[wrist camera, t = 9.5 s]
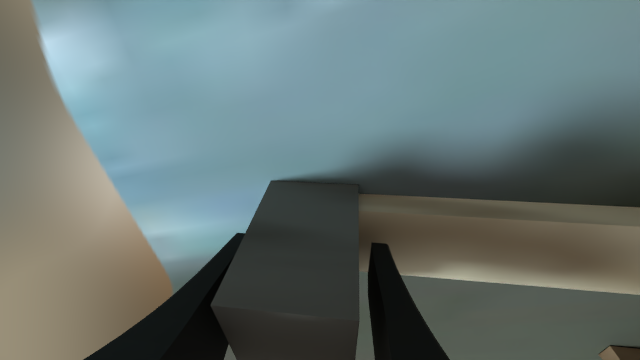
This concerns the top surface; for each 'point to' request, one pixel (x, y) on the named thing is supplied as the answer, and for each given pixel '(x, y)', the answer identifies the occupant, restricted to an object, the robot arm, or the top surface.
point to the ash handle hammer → (402, 258)
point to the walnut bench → (620, 353)
